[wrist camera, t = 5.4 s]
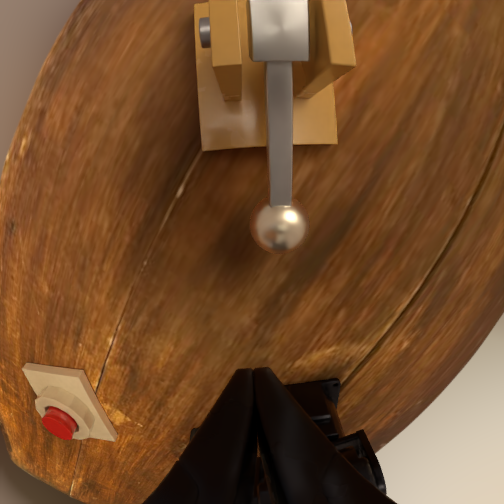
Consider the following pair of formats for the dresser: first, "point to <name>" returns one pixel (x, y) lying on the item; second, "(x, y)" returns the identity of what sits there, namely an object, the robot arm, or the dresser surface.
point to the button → (59, 423)
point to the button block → (70, 399)
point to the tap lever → (279, 117)
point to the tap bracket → (252, 76)
